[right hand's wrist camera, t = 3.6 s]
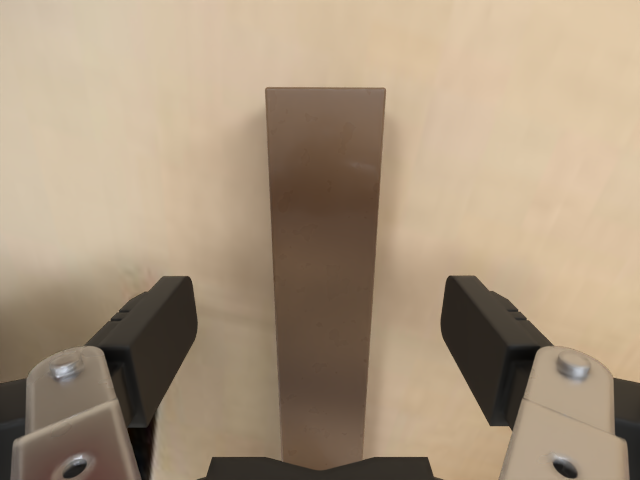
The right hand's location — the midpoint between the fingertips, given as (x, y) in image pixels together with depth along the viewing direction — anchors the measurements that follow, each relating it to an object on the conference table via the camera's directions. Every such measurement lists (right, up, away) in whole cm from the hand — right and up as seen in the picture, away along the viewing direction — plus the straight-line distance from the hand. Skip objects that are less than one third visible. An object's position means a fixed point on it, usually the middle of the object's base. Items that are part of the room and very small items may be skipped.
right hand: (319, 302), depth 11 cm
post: (0, -22, +21) cm, 30 cm away
